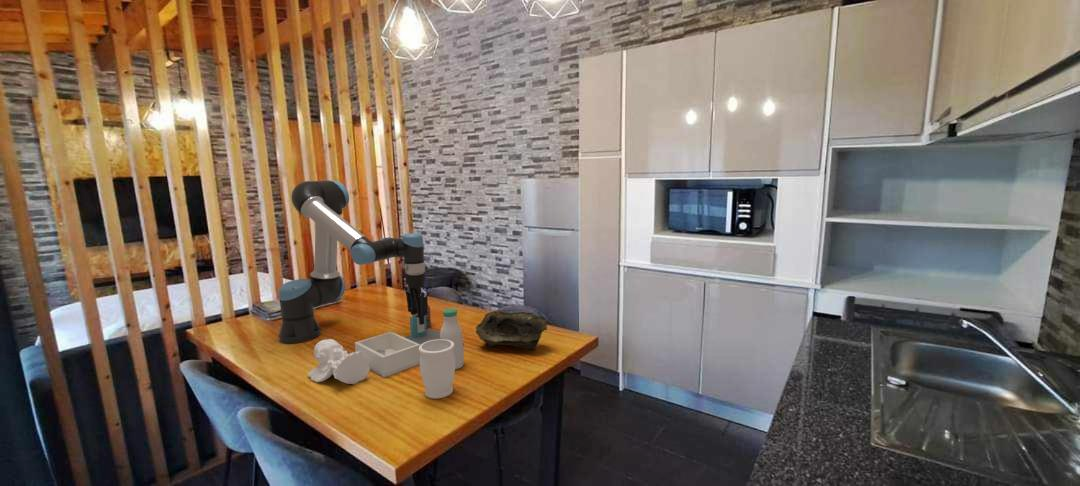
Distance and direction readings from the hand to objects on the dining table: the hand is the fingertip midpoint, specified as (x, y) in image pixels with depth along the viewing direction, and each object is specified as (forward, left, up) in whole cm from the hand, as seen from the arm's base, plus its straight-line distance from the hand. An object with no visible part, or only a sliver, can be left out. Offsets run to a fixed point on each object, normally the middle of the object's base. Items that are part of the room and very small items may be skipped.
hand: (418, 330), depth 170 cm
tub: (+9, -18, -5) cm, 20 cm away
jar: (+41, -19, -5) cm, 45 cm away
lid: (+8, 0, -3) cm, 9 cm away
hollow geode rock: (+33, +20, -5) cm, 39 cm away
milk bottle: (+29, -5, -5) cm, 29 cm away
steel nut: (+5, -20, -4) cm, 21 cm away
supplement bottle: (-13, +11, -5) cm, 18 cm away
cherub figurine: (+6, -35, -5) cm, 36 cm away
